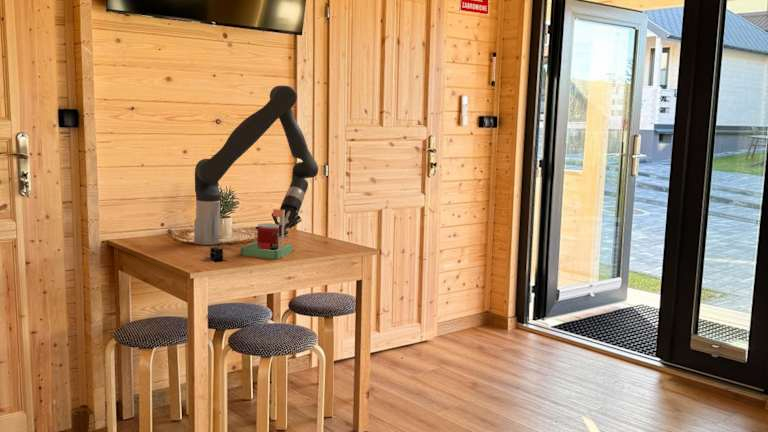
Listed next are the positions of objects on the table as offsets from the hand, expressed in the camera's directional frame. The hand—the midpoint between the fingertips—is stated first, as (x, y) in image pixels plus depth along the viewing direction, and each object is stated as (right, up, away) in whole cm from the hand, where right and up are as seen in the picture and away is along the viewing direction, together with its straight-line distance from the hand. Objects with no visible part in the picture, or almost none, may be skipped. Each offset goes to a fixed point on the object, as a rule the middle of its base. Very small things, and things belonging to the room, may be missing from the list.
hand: (279, 235), depth 279 cm
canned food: (-3, -7, -9) cm, 12 cm away
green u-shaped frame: (-3, -7, -9) cm, 12 cm away
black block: (-19, -9, -23) cm, 31 cm away
